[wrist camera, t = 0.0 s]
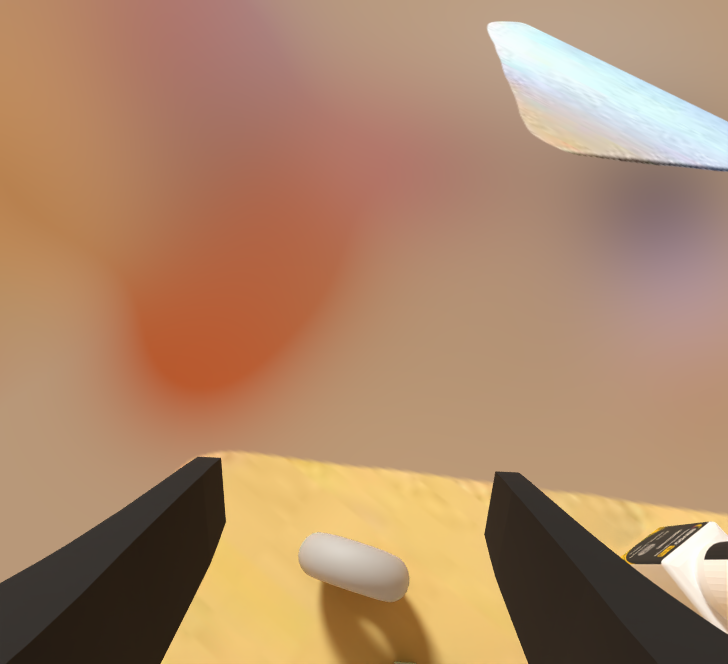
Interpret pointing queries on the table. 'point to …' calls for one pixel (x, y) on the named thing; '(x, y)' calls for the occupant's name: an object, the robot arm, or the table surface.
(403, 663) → the teal upright slab
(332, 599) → the table surface
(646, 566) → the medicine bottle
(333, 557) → the grey donut
